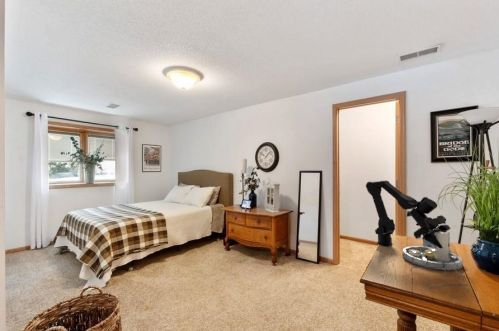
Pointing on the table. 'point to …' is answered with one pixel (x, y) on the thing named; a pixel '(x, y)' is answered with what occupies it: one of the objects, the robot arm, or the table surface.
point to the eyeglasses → (445, 272)
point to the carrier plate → (430, 258)
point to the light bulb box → (428, 244)
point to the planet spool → (442, 252)
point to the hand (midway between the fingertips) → (445, 247)
